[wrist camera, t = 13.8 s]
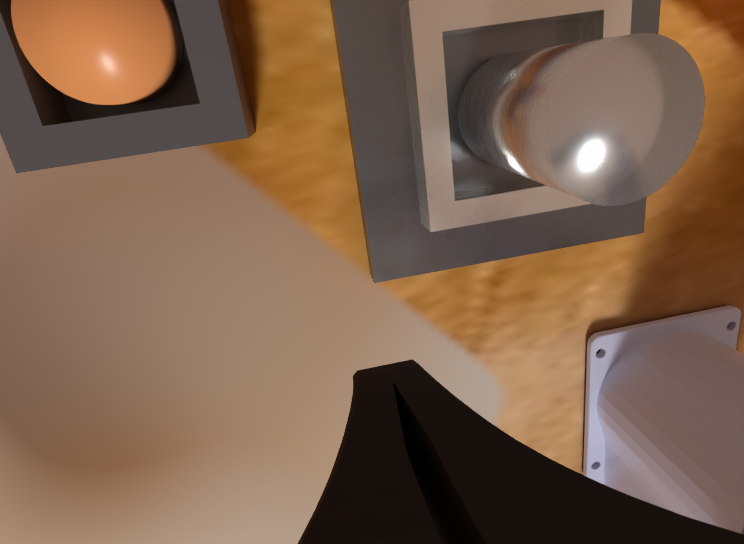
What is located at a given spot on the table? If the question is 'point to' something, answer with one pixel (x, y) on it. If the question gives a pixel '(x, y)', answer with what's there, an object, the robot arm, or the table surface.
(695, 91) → the cylinder
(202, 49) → the button housing
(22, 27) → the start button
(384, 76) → the base plate with socket
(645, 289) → the table surface
